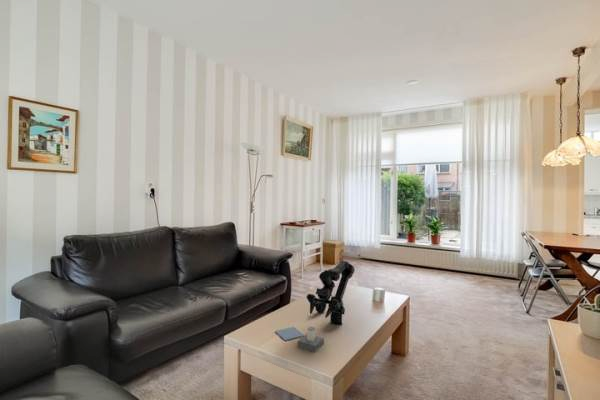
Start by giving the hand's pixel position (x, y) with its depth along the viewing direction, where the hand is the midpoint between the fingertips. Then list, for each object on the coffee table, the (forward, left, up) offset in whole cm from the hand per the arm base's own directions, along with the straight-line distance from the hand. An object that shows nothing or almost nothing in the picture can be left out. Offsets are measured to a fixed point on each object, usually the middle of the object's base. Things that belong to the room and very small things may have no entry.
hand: (317, 315), depth 161 cm
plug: (+3, +6, -13) cm, 15 cm away
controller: (-2, -38, -13) cm, 40 cm away
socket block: (+3, +6, -13) cm, 15 cm away
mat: (+15, -5, -13) cm, 21 cm away
